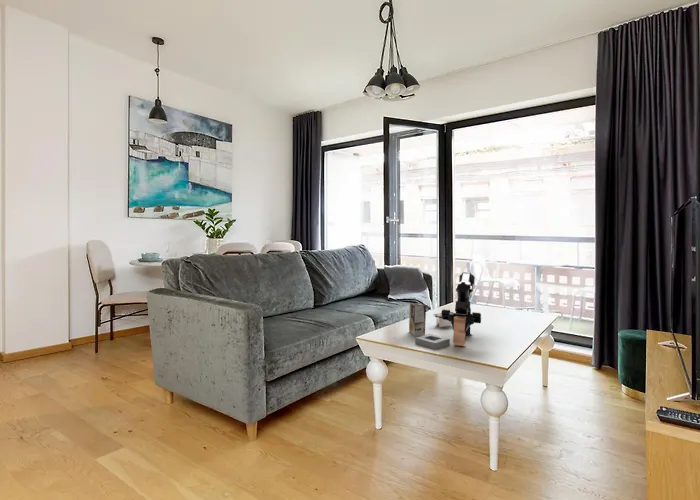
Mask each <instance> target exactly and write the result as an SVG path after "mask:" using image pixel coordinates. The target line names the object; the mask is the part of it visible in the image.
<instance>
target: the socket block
mask: <svg viewBox="0 0 700 500" xmlns="http://www.w3.org/2000/svg"><path fill="white" fill-rule="evenodd" d="M450 343H451V338H449V337H444V336H440V335H437V334H434V333H427V334H425V335H423V336H415V338H414V344H415V345H418V346H421V347H426V348H429V349H433V350H438V349H441V348H444V347H446V346H449V345H451V344H450Z"/></svg>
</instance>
